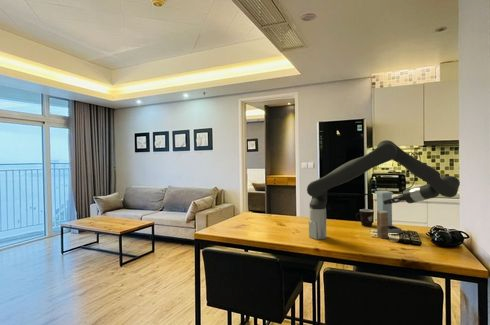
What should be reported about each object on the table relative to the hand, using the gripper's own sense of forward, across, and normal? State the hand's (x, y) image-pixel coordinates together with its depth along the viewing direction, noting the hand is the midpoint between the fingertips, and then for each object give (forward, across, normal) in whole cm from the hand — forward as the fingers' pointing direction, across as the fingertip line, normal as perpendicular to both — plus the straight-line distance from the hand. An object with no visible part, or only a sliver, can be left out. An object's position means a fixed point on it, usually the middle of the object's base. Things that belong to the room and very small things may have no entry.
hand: (388, 201), depth 152 cm
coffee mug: (+29, -6, +12) cm, 32 cm away
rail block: (+8, +6, +18) cm, 21 cm away
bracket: (+11, -6, +18) cm, 22 cm away
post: (+17, -9, +16) cm, 25 cm away
